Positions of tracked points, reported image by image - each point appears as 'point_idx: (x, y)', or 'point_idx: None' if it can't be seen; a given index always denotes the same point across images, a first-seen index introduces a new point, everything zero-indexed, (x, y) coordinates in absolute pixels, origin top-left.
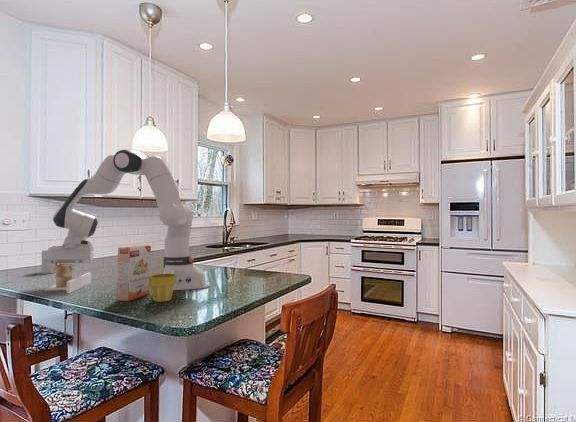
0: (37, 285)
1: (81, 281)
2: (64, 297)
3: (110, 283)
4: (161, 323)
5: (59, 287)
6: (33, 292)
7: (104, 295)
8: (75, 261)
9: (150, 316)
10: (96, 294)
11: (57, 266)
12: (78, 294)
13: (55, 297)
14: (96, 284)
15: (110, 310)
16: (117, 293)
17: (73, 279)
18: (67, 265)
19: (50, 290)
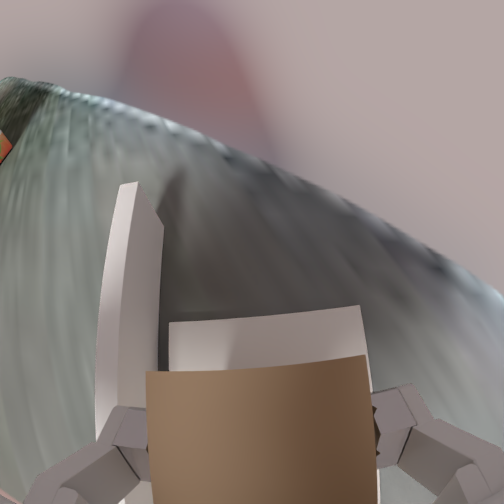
0: None
1: None
2: (149, 159)
3: None
4: (11, 80)
5: None
6: (389, 262)
7: (23, 200)
8: (68, 494)
9: (8, 92)
10: (42, 214)
11: (340, 360)
12: (103, 211)
13: (188, 156)
14: None
15: (41, 93)
16: (2, 132)
17: (114, 261)
18: (166, 374)
19: (314, 313)
